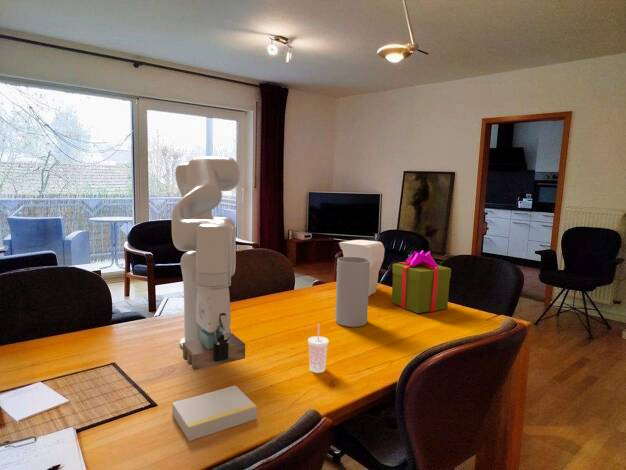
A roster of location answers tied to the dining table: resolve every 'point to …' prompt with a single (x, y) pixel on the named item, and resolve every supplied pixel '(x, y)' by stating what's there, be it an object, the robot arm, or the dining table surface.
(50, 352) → the dining table surface
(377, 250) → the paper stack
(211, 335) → the teal block
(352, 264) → the cylinder vase
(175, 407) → the block
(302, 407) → the dining table surface
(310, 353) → the beverage cup
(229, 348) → the pallet
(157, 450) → the dining table surface
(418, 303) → the gift box
